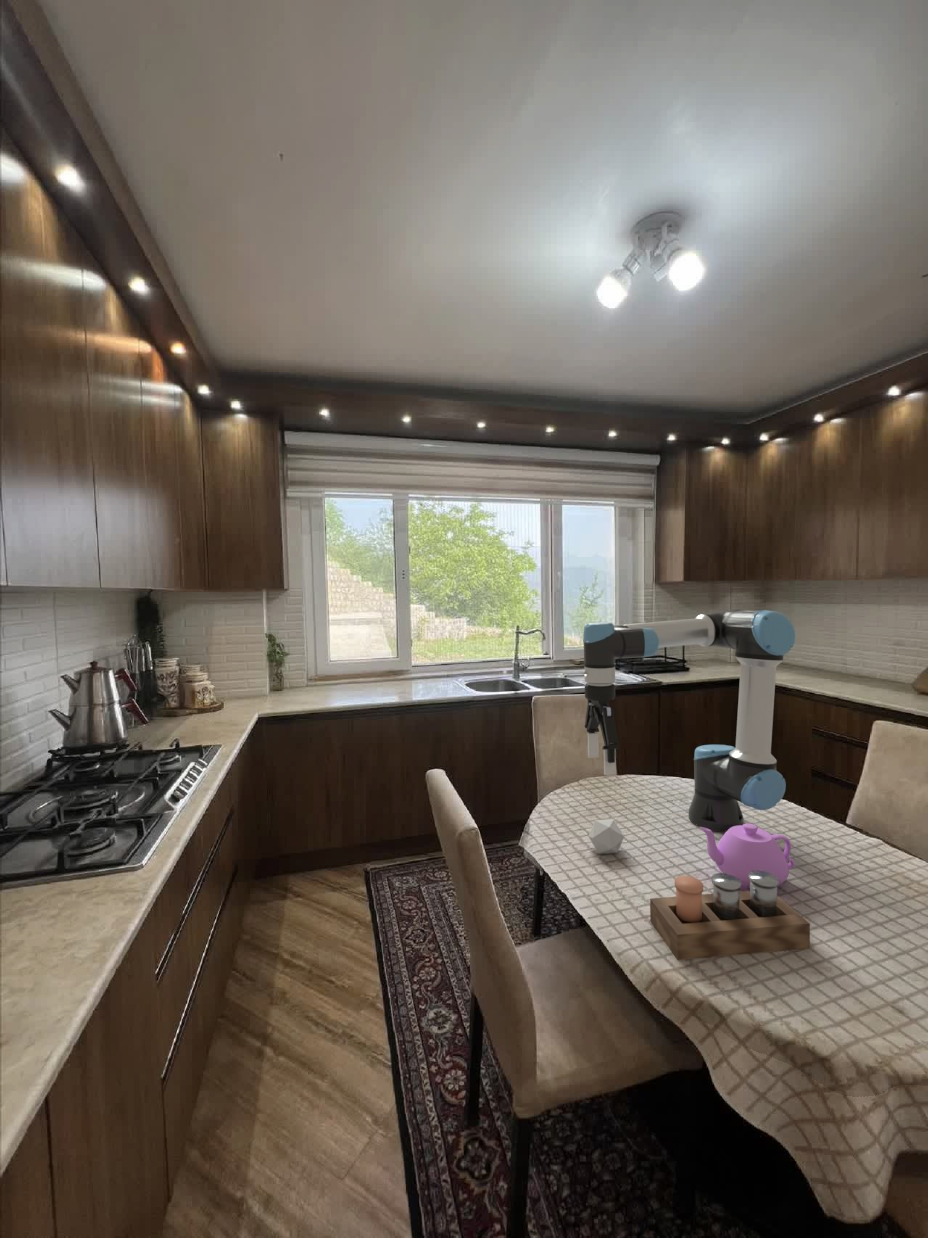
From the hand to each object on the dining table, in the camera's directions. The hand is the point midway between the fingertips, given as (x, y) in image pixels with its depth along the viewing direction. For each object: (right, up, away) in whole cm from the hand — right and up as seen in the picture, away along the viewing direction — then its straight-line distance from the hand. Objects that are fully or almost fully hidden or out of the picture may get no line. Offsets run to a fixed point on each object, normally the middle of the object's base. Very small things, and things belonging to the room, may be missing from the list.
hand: (601, 765), depth 134 cm
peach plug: (+11, -23, -27) cm, 37 cm away
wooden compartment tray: (+19, -27, -26) cm, 42 cm away
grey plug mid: (+19, -23, -26) cm, 40 cm away
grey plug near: (+27, -23, -26) cm, 43 cm away
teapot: (+33, -26, -7) cm, 43 cm away
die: (+4, -26, +10) cm, 28 cm away
